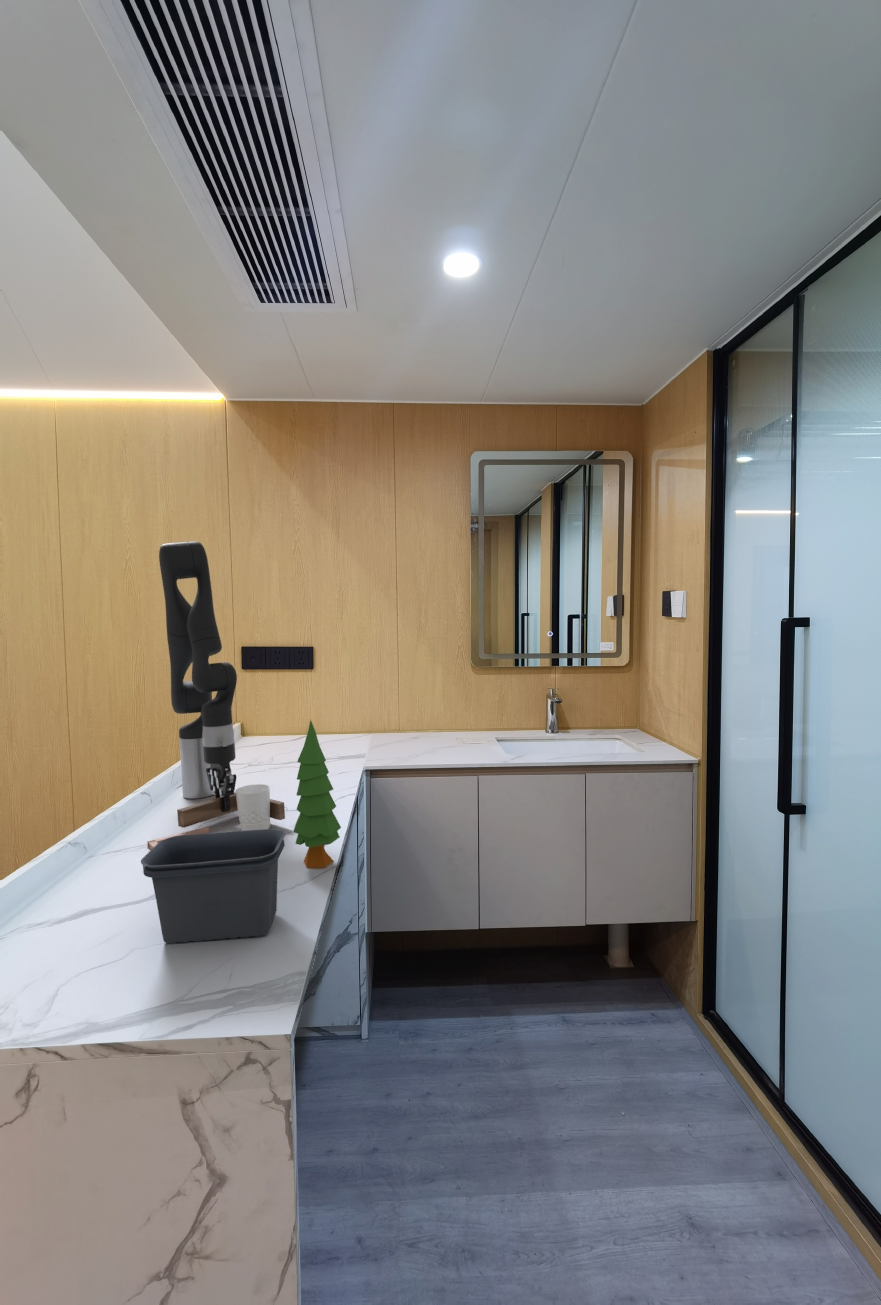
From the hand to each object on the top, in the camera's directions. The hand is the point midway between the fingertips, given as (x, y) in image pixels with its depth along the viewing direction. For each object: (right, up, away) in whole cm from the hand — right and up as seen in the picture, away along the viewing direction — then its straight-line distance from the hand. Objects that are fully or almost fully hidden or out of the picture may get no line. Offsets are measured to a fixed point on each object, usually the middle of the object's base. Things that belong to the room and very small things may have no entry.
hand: (223, 809), depth 160 cm
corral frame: (-1, -4, -17) cm, 18 cm away
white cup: (+10, -3, -7) cm, 13 cm away
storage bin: (+18, -6, -54) cm, 57 cm away
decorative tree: (+30, -4, -29) cm, 42 cm away
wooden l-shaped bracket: (+5, -1, -7) cm, 9 cm away
